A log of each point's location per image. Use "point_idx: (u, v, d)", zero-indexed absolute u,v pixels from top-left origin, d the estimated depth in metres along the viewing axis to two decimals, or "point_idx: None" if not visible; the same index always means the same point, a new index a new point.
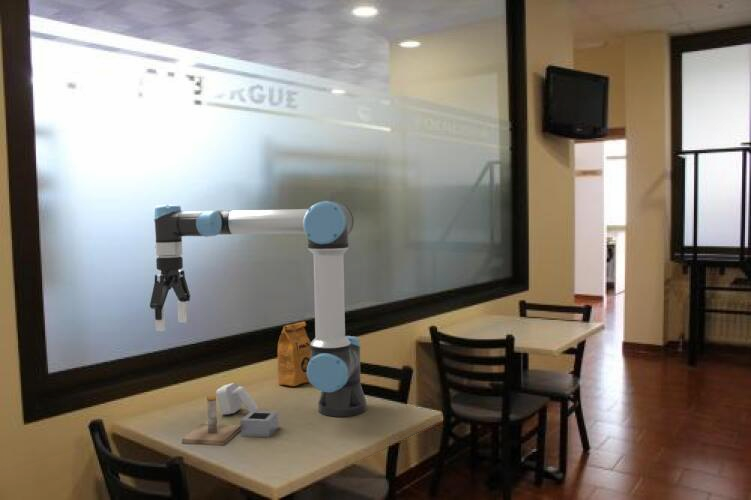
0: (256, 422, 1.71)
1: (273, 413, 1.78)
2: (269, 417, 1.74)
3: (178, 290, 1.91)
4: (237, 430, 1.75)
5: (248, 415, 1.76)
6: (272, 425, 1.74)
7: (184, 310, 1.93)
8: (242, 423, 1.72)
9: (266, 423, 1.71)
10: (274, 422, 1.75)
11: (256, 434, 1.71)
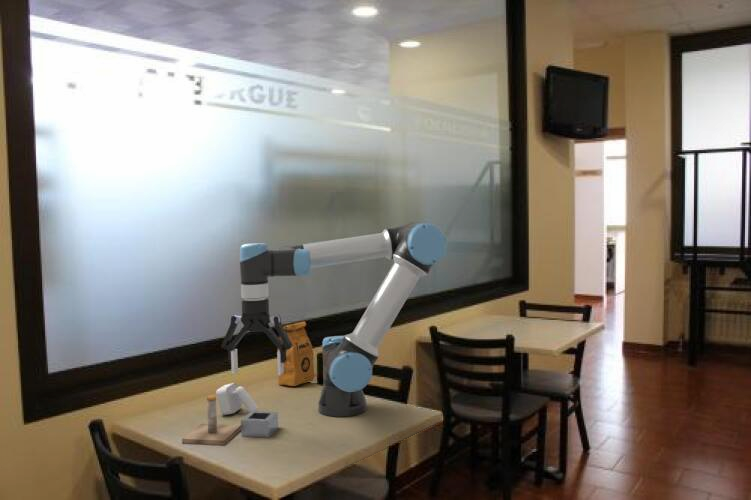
0: (256, 422, 1.71)
1: (273, 413, 1.78)
2: (269, 417, 1.74)
3: None
4: (237, 430, 1.75)
5: (248, 415, 1.76)
6: (272, 425, 1.74)
7: None
8: (242, 423, 1.72)
9: (266, 423, 1.71)
10: (274, 422, 1.75)
11: (256, 434, 1.71)
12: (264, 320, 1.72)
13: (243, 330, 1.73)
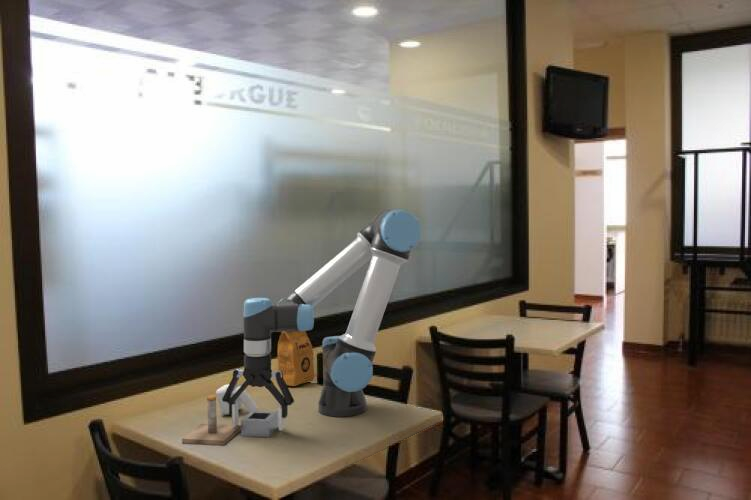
0: (256, 422, 1.71)
1: (273, 413, 1.78)
2: (269, 417, 1.74)
3: None
4: (237, 430, 1.75)
5: (248, 415, 1.76)
6: (272, 425, 1.74)
7: None
8: (242, 423, 1.72)
9: (266, 423, 1.71)
10: (274, 422, 1.75)
11: (256, 434, 1.71)
12: (266, 375, 1.73)
13: (245, 385, 1.73)
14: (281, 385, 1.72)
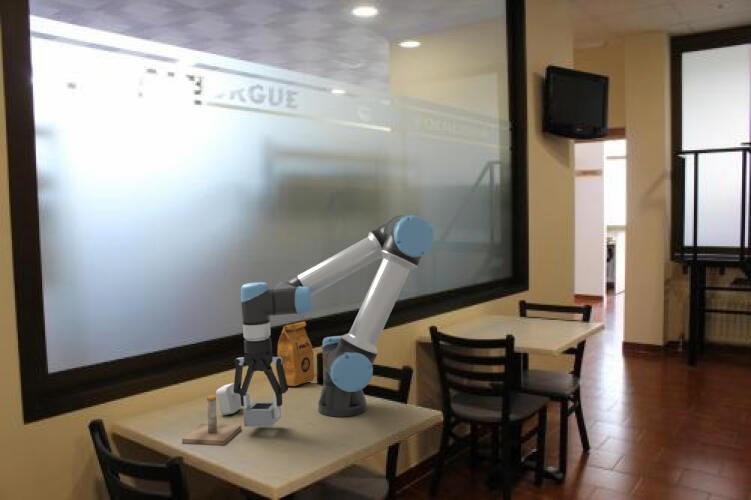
0: (259, 412, 1.71)
1: None
2: (271, 407, 1.74)
3: None
4: (237, 430, 1.75)
5: (250, 406, 1.76)
6: None
7: None
8: (245, 414, 1.72)
9: (268, 412, 1.71)
10: None
11: (259, 424, 1.72)
12: (267, 359, 1.73)
13: (249, 371, 1.73)
14: (279, 372, 1.72)
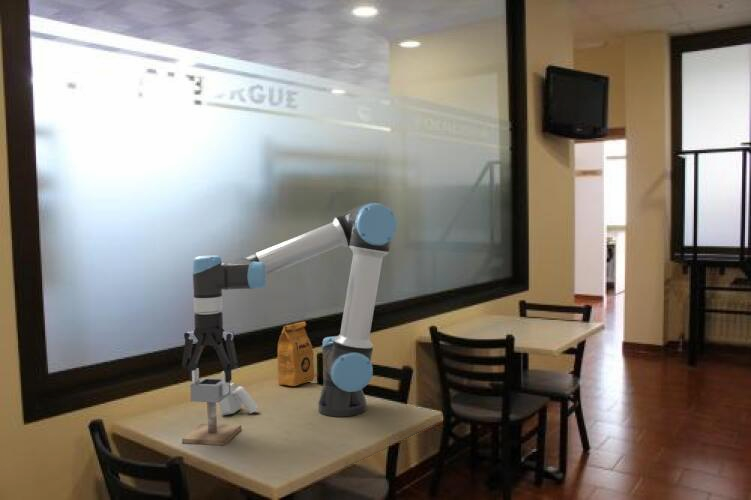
0: (206, 387, 1.68)
1: None
2: (219, 383, 1.70)
3: None
4: (237, 430, 1.75)
5: (199, 381, 1.72)
6: None
7: None
8: (192, 388, 1.68)
9: (216, 388, 1.67)
10: None
11: (206, 399, 1.68)
12: (217, 334, 1.69)
13: (198, 345, 1.70)
14: (229, 347, 1.69)
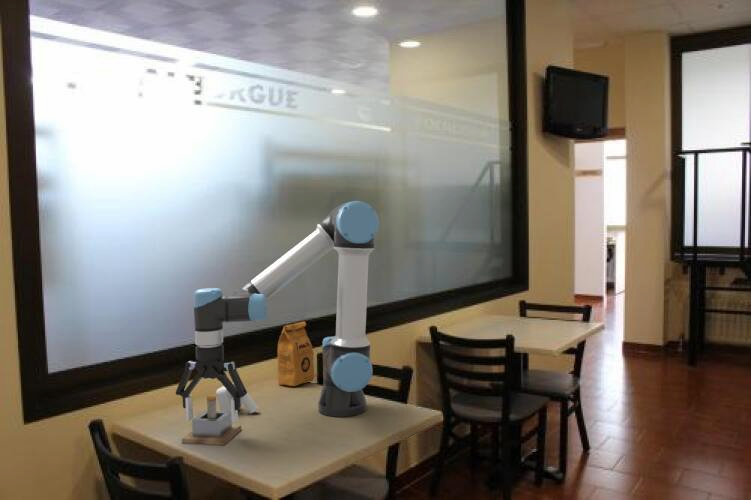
0: (207, 422, 1.68)
1: (227, 412, 1.75)
2: (221, 417, 1.71)
3: None
4: (237, 430, 1.75)
5: (201, 415, 1.73)
6: (225, 425, 1.71)
7: None
8: (193, 423, 1.69)
9: (217, 423, 1.68)
10: (226, 423, 1.72)
11: (207, 434, 1.69)
12: (218, 367, 1.70)
13: (197, 377, 1.70)
14: (233, 377, 1.69)
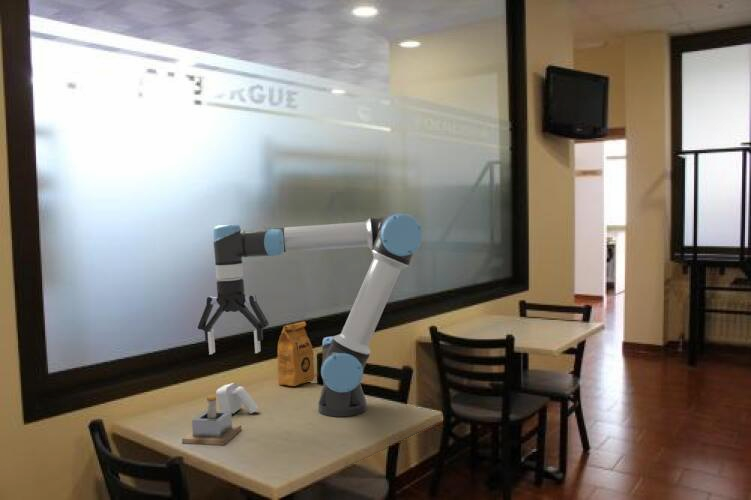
0: (207, 422, 1.68)
1: (227, 412, 1.75)
2: (221, 417, 1.71)
3: None
4: (237, 430, 1.75)
5: (201, 415, 1.73)
6: (225, 425, 1.71)
7: None
8: (193, 423, 1.69)
9: (217, 423, 1.68)
10: (226, 423, 1.72)
11: (207, 434, 1.69)
12: (240, 300, 1.75)
13: (219, 310, 1.75)
14: (255, 308, 1.74)
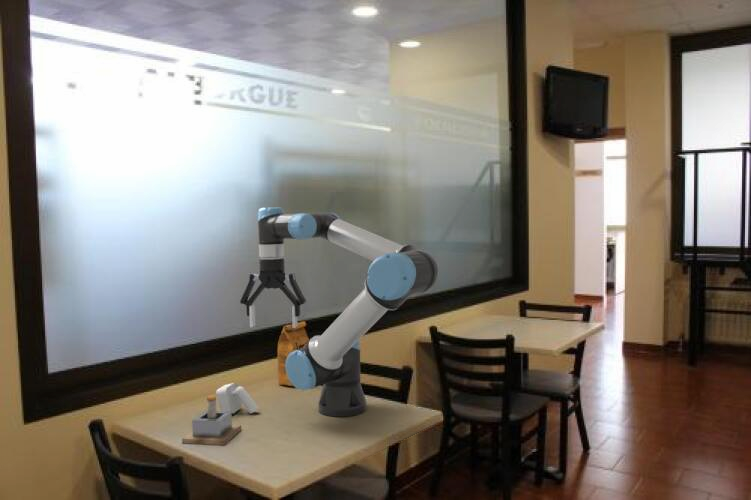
0: (207, 422, 1.68)
1: (227, 412, 1.75)
2: (221, 417, 1.71)
3: None
4: (237, 430, 1.75)
5: (201, 415, 1.73)
6: (225, 425, 1.71)
7: None
8: (193, 423, 1.69)
9: (217, 423, 1.68)
10: (226, 423, 1.72)
11: (207, 434, 1.69)
12: (280, 277, 1.88)
13: (261, 287, 1.89)
14: (294, 286, 1.88)
